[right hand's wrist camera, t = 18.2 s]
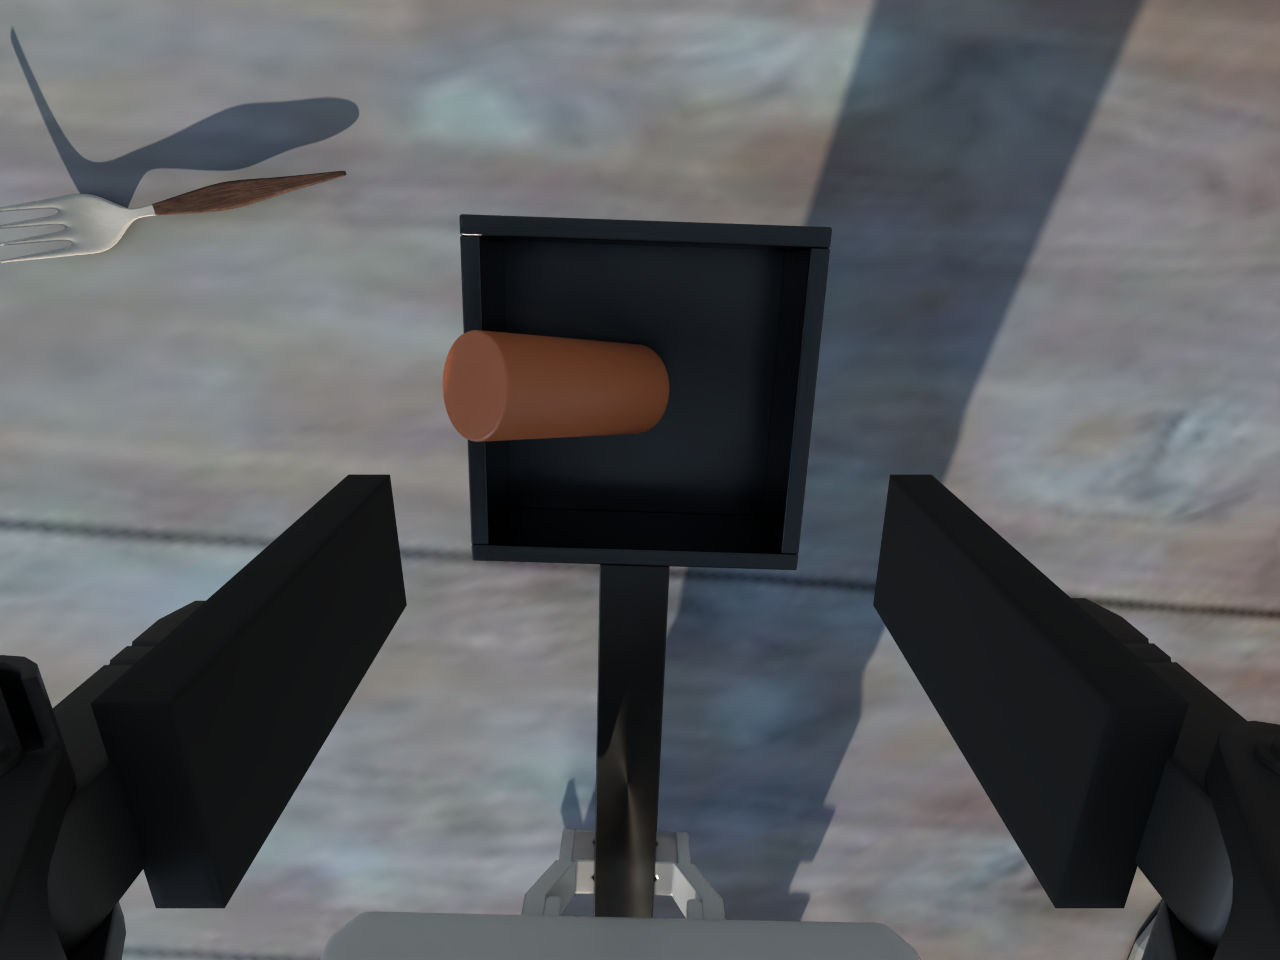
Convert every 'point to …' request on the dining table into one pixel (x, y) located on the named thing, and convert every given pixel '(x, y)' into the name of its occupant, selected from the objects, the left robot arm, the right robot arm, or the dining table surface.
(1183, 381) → the dining table surface
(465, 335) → the peg
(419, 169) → the dining table surface
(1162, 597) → the dining table surface
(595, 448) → the pan
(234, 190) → the fork
